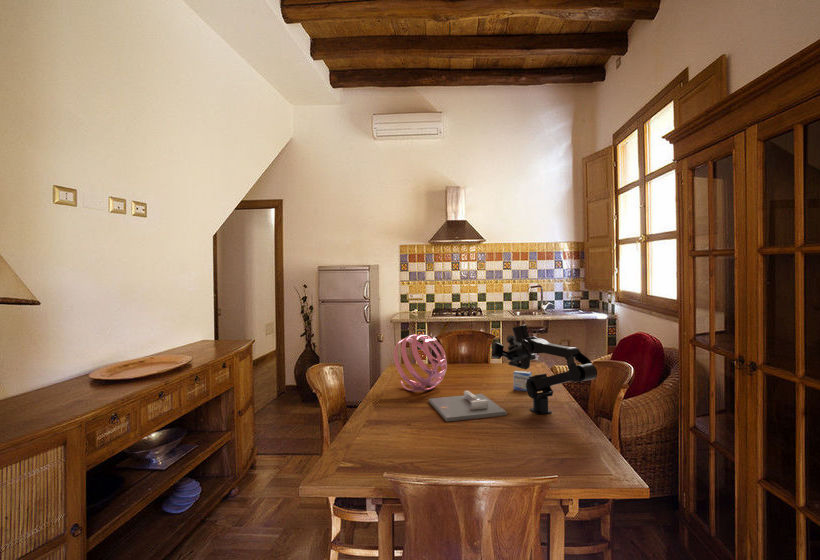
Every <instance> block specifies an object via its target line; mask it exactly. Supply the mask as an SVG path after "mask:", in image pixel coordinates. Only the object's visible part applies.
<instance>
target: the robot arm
mask: <svg viewBox="0 0 820 560" xmlns="http://www.w3.org/2000/svg"><path fill="white" fill-rule="evenodd" d="M511 330H512V334H513V335H512V334H510V335H508V336H506V342H507V343H508V344H509V345H508V346H507V351H505V350H504V345H503V344H502V343H499V342H494V343H493V344H492V345H491V346H492V348H491V359H496V360H499V359H501V358H502V357H503V358H506V359H507V360H508V361H509V362H508V366H512V367H516V368H519V369H522V370H524V371H525V370H528V369H530V366H531V361H533V360H536V354H548V355H553V356H557V357H561V358H565V360H566V365H567V368H568V370H567V371H564V372H559V373H557V374H552V375H550V376H548V375H547V373H540V374H535V375H532V376H531V377H529V378H530V379H527V382H526V388H527V391H526V392H527V396H528V397H529V398H530V399H532V407H530V408H529V410H530V411H532V413H535V414H536V415H544V414H553V413H552V411H551V410H550V409H549V398H548V397H553V395H554V390H553V389H552V387H553V386H556V385H560V384H565V383H568V382H575V383H576V382H578V383H579V382H586V381H591V380H595V379H596V378H597V376H598V370H597V367H596V366H595V365H594V363H593V362H592V361H591V360H590V358H588V357H587V356H586V355H585V354H583V353H582V351H581V350H580V349H579V348H578V347H575V346H566V345H561V344H558V343H557V344H556V343H550V342H549V341H548V340H546V339H544V338H540V337H539V338H538V337H536V336H530V333H529V331H528V327H527V325H526V324H521V325H519V326H514V327H512V328H511ZM575 360H576V361H577V362H579V363H580V364H576V362H575Z"/></svg>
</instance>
